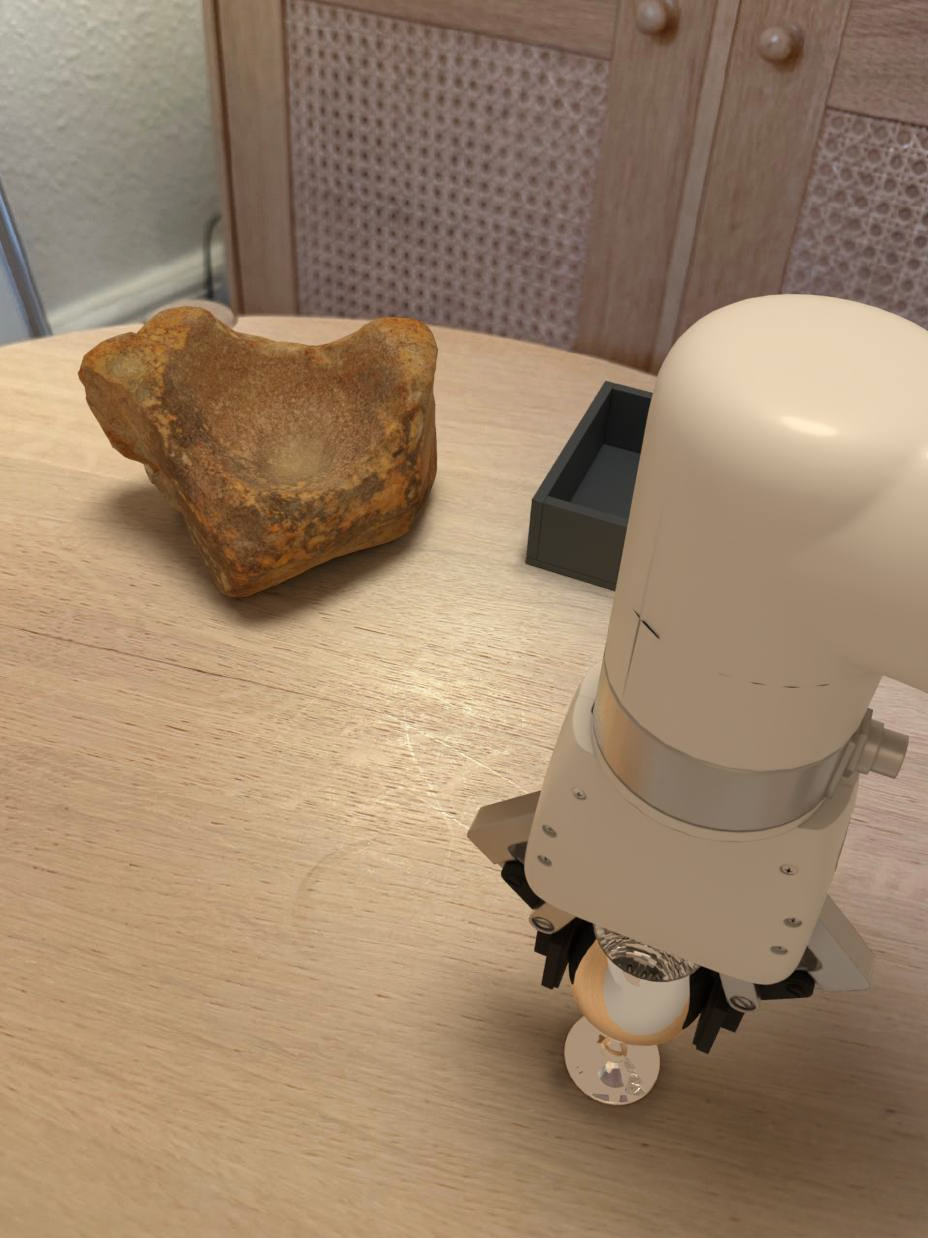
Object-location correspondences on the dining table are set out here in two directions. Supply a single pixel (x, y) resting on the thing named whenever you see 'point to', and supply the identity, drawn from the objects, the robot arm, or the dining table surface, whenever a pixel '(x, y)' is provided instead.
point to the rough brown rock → (273, 436)
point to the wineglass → (626, 1011)
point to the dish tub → (591, 490)
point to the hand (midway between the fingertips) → (633, 986)
